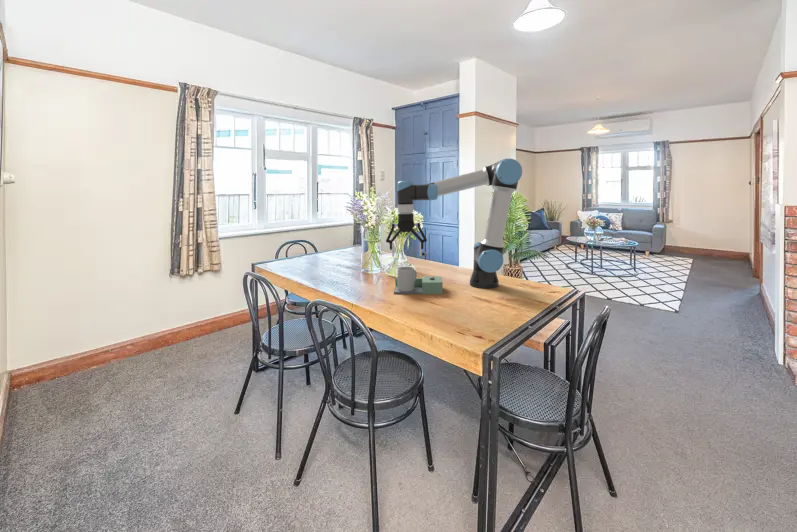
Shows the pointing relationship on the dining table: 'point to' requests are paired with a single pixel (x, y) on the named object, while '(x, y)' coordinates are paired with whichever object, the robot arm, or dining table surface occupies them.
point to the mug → (406, 279)
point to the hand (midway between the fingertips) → (406, 256)
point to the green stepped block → (424, 286)
